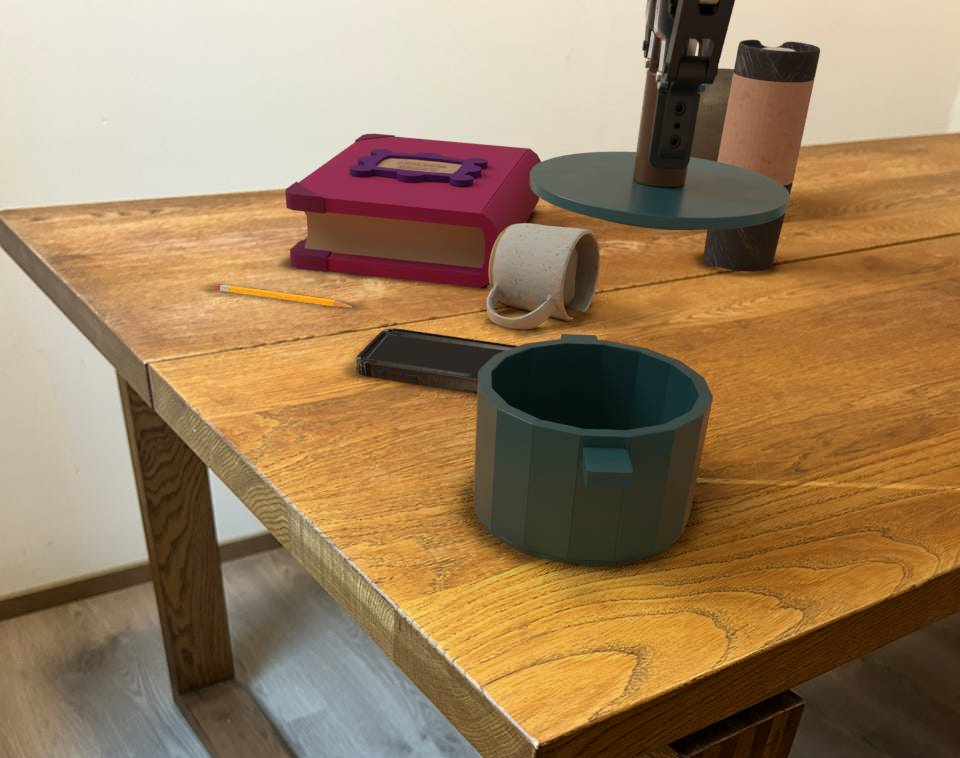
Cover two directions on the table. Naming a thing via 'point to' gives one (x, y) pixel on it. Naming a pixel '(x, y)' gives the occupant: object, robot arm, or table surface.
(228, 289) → the pencil
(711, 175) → the lid
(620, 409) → the pot
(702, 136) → the brown textured sphere
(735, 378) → the table surface
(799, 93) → the travel mug
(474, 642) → the table surface
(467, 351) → the phone
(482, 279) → the book
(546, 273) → the ceramic mug
